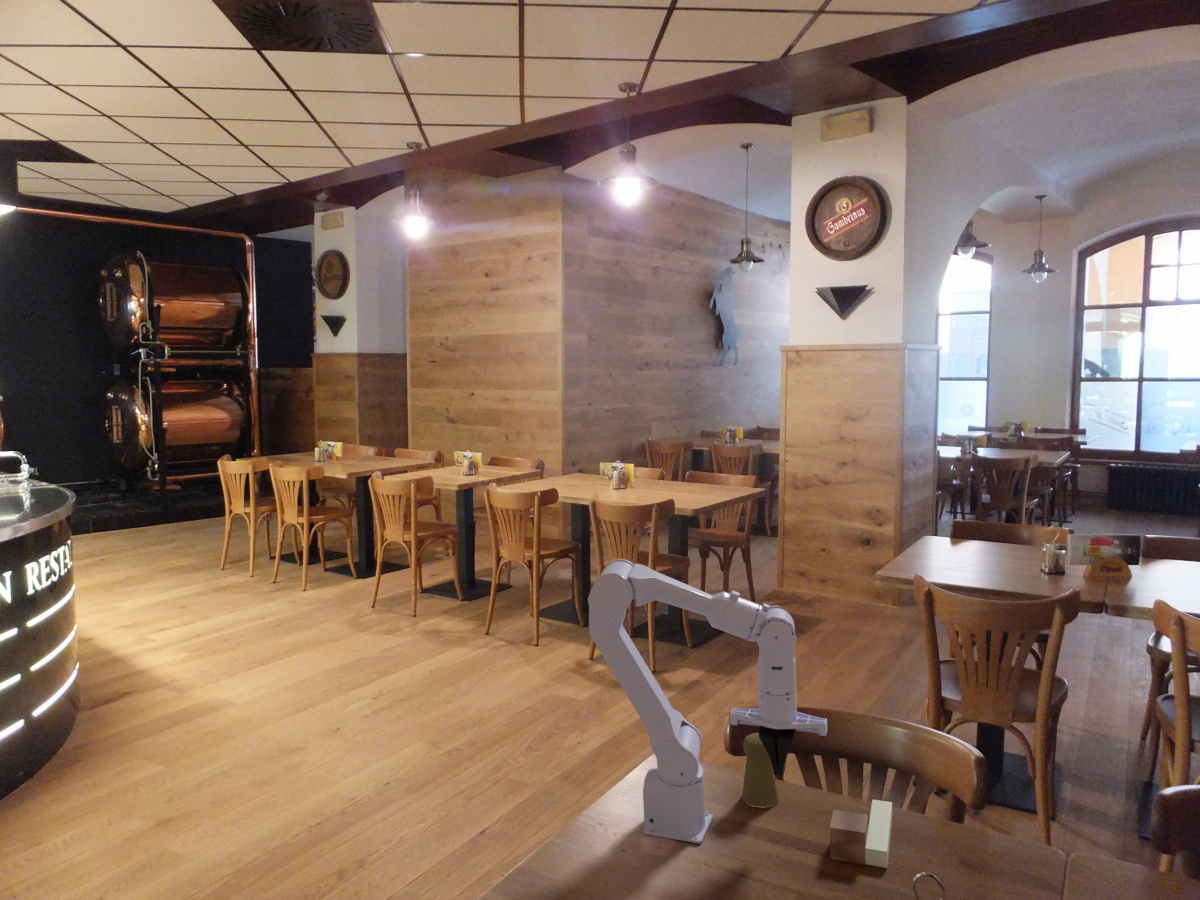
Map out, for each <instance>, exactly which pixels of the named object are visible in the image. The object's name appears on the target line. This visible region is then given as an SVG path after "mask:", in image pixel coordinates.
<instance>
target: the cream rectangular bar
mask: <svg viewBox="0 0 1200 900" xmlns="http://www.w3.org/2000/svg"><path fill="white" fill-rule="evenodd" d="M870 806H871V807H870V813H869V814H870V815H869V819H868V834H867V840H866V847H865V856H866V865H868V866H874V867H879V868H885V869H888V867H889V866H888V864H889V855H890V844H891V834H892V825H893V802H892V801H885V800H879V799H872V800H871V805H870Z"/></svg>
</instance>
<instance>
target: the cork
mask: <svg viewBox="0 0 1200 900" xmlns="http://www.w3.org/2000/svg"><path fill="white" fill-rule="evenodd" d="M742 748H743V753H744V755H746V759H745V760H746V761H745V768H744V775H743V787H742V794H741V796H742V797H743V799H742V801H743V800H744V801H745V802H747V803H748V804H750V805H754V806H761V807H762V806H764V807H766V806H771V805H774V804H776V803H777V801H778V799H779V794H778V793H779V792H778V788H777V781H776V775H774V772H773V767H772V764H771V761H770V758H769V755H768V753H767V751H766V749H765V747H764V745H763V743H762V742H761V740H760V738H759V732H753V733H750V734H747V735H746V736H745V737H744V739H743V744H742ZM744 801H743V802H744ZM778 802H779V801H778ZM777 804H778V803H777ZM777 804H776V805H777Z"/></svg>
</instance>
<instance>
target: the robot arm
mask: <svg viewBox="0 0 1200 900" xmlns="http://www.w3.org/2000/svg"><path fill="white" fill-rule="evenodd" d="M632 600H635V607H641V606H644V605H647V604H648V603H652V602H656V601H657V602H661V603H664V604H667V605H670V606H674V607H677V608H679V609H683V610H686V611H689V612H692V613H695V614H699V615H700V616H704V617H706V619H707V621H708V623H709V625H710V626H711V627H712V628H714V629H716V630H719V631H722V632H724V633H727V634H730V635H733V636H735V637H738V638H740V639H743V640H746V641H749V642H753V643H755V642H756V644H757V646H758V651H759V653H758V654H759V656H758V657H757V680H758V681H757V687H758V689H757V690H758V708H757V707H755V708H754V707H753V708H736V707H735V708H734V707H733V708H732V709H731V711H730V712H729V715H730V717H729V718H730V720H729V722H730V725H732V726H738V725H739V724H740V725H747V726H755V727H759V732H758V733H759V738H760V740H761V742H762V743H763V745H764V747H765V749H766V751H767V753H768V755H769V758H770V761H771V764H772V767H773V772H774V775H775V776H779V777H783V776H784V774H785V772H786V763H787V759H788V754H789V751H790V748H791V746H792V743H793V741H794V739H795V736H796V735H797V731H798V732H806V733H814V734H818V735H819V736H822V737H823V736H824V737H826V736H827V734H828V718H826V717H825V718H823V717H819V716H814V715H810V714H807V713H803V712H800V711H798V706H797V705H798V703H797V700H798V698H797V662H796V661H797V660H796V657H795V655H796V649H795V647H796V645H797V641H798V638H797V636H796V635H797V634H796V627H795V621H794V619H793V617H792V615H791V614H790V613H789V612H788V611H787V610H786V609H784V608H782V607H781V606H780V605H769V604H767V603H763V604H762V605H761V604H759V603H756V602H753V601H751V600H749V599H746V598H743V597H741V595H740V592H738V591H736V590H731V592H730V593H729V592H727V591H721V592H719V593H716V594H709V593H708V592H705V591H703V590H701V589H698V588H696V587H695V586H694V587H693V586H691V585H689V584H687V583H684V582H682V581H680V580H677V579H675V578H673V577H670V576H668V575H665V574H664V573H661V572H659V571H657V570H655V569H652V568H651V567H648V566H647V565H644V564H641V563H635V564H634V563H633V562H631V561H630V560H627V559H624V558H616V559H614V560H611V561H609V562H608V563H607V564H606V565H605V566H604V568H603V569H602V572H601V574H600V575H599V576H598V578H596V579H595V581H594V582H593V585H592V587H591V589H590V592H589V594H588V597H587V603H588V633H589V635H590V638H591V639H592V641H593V642H594V644H595V646H596V647H597V649H598V651H599V653H600V654H601V656H602V657H603V659H604V660H605V662H606V664H607V665H608V668H609V669H610V670H611V672H612V674H613V675H614V677H615V679H616V681H617V682H618V684H619V686H620V687H621V688H622V690H623V692H624V693H625V695H626V696H627V698H628V700H629V701H630V704H631V705H632V707H633V708H634V710H635V711H636V713H637V715H638V716H639V718H640V719H641V722H642V723H643V724H644V726H645V728H646V730H647V734H648V739H649V742H650V747H651V750H652V752H653V754H654V755H655V759H656V762H657V763H656V765H657V767H655V768H651V767H650V768H649V769H648V770H647V772H646V774H645V777H644V782H643V789H642V790H643V791H642V800H643V801H642V802H643V822H644V824H643V825H644V828H643V830H642V832H643V834H644V835H647V836H655V837H659V838H665V839H669V840H670V839H672V840H675V841H676V840H677V841H683V842H688V843H695V844H701V843H703V840H704V838H705V836H706V834H707V832H708V830H709V828H710V826H711V824H712V823H711V822H712V821H713V819H714V815H713V814H711V813H706V802H705V799H706V798H705V797H706V796H705V776H704V775H705V773H704V772H705V770H704V768H703V766H702V765H701V763H700V762H699V758H700V751H701V748H702V745H703V744H702V743H703V739H702V735H701V733H700V731H699V730H698V728H697V727H695V725H693V724H692V723H690V722H688V720H686V719H685V717H684V716H683V714H682V713H681V712H680V711H678V710H676V709H675V708H673V706H672V705H671V703H670V701H669V699H668V698H667V696H666V694H665V693H664V691H663V690H662V688H661V685H659V683H658V681H657V680H656V678H655V677H654V674H653V673H652V671H651V669H650V668H649V667H648V665H647V663H646V661H645V660H644V659H643V657H642V655H641V653H640V651H639V650H638V648H637V647H636V645H635V643H634V642H633V640H632V638H631V637H630V635H629V634H628V631H627V630H626V629H625V627H624V625H623V624H624V620H625V618H626V615H627V614H626V613H627V610H628V608H629V607H630V605H632V604H631V603H632Z"/></svg>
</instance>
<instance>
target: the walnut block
mask: <svg viewBox="0 0 1200 900" xmlns="http://www.w3.org/2000/svg"><path fill="white" fill-rule="evenodd" d="M829 824H830V825H829V858H830V857H833V858H839V859H843V860H847V861H851V862H850V863H853V862H856V864H859V863H860V865H864V864H865V866H866V865H867V864H866V856H865V847H866V840H867V834H868V827H869V815H868V814H863V813H859V812H851V811H846V810H838V809H833V810H832V816H831V820H830V823H829ZM847 861H846V862H847Z"/></svg>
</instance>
